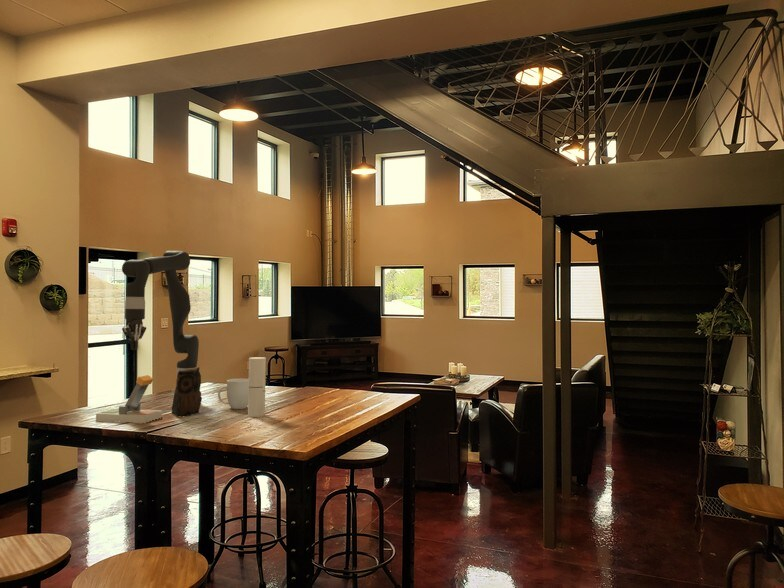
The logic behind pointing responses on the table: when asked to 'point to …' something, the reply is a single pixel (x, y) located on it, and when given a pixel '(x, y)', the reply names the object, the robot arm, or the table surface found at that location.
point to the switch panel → (128, 415)
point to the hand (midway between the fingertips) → (134, 349)
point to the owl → (187, 393)
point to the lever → (138, 392)
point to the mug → (236, 393)
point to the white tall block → (256, 387)
